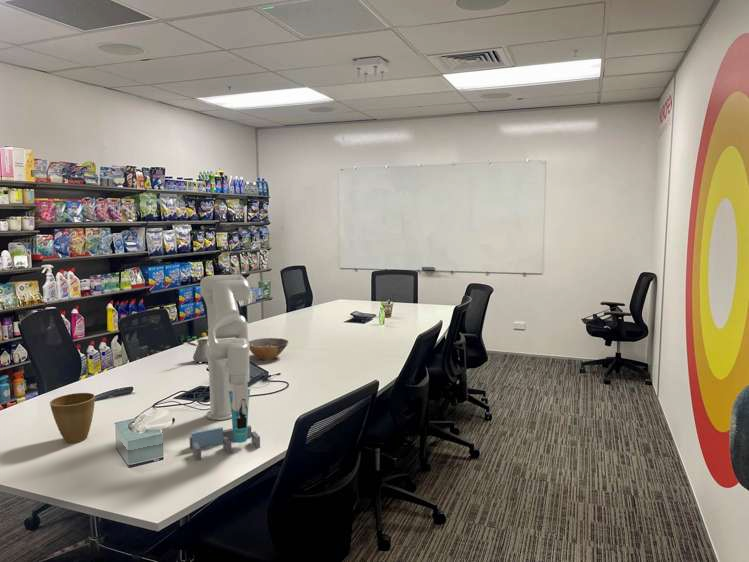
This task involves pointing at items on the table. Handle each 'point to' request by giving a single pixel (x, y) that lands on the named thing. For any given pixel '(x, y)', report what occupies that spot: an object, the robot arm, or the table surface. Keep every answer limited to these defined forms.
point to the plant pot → (73, 415)
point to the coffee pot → (200, 350)
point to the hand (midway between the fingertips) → (240, 425)
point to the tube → (238, 434)
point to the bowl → (267, 347)
